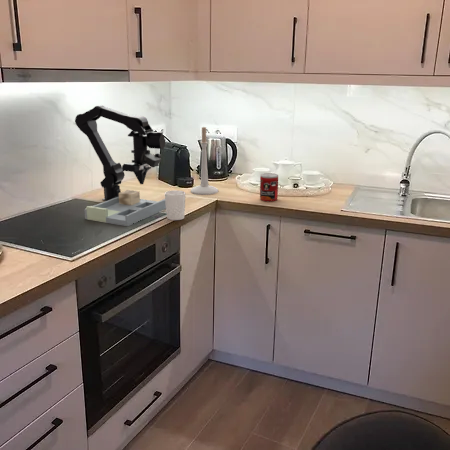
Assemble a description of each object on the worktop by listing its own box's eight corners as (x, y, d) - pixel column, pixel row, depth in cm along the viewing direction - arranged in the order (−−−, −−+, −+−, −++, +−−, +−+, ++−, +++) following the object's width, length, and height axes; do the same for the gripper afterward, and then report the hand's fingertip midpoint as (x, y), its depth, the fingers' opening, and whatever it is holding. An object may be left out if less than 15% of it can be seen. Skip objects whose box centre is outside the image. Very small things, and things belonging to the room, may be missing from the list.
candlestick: (219, 188, 242) (218, 124, 233) (217, 195, 230) (217, 128, 221) (192, 187, 243) (191, 124, 234) (189, 194, 231) (188, 127, 222)
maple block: (119, 203, 208) (118, 192, 207) (128, 200, 213) (127, 189, 212) (131, 205, 206) (130, 194, 204) (139, 201, 211) (139, 191, 209)
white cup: (180, 221, 192) (179, 196, 189) (161, 219, 194) (160, 194, 191) (189, 216, 199) (188, 191, 196) (170, 214, 201) (170, 189, 198)
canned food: (257, 200, 221) (258, 175, 218) (263, 196, 228) (263, 172, 225) (274, 202, 218) (275, 177, 215) (279, 198, 225) (280, 173, 222)
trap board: (85, 219, 195) (84, 206, 193) (129, 201, 218) (128, 190, 217) (127, 226, 186) (127, 213, 185) (168, 207, 210) (168, 195, 209)
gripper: (143, 152, 200) (145, 191, 204) (168, 145, 216) (169, 181, 220) (120, 150, 204) (122, 188, 209) (146, 143, 220) (148, 179, 225)
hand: (141, 184), depth 216 cm, fingers closed
